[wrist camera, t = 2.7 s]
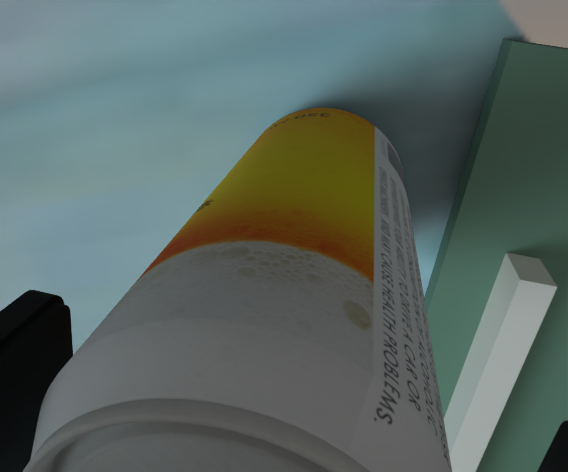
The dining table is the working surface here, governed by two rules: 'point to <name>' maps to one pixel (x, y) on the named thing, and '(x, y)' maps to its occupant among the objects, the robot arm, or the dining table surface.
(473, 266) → the board
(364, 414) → the beer can
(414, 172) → the dining table surface
